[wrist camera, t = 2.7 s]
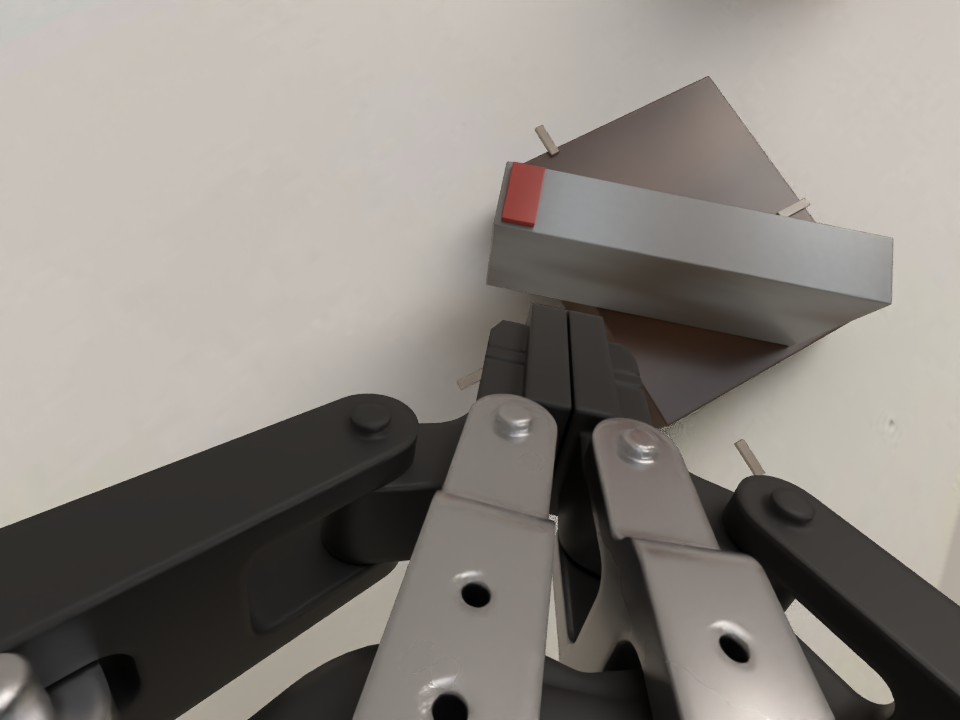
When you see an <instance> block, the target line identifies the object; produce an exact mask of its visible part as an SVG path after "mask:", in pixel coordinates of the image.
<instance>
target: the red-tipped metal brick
mask: <svg viewBox="0 0 960 720" xmlns="http://www.w3.org/2000/svg"><path fill="white" fill-rule="evenodd" d="M892 268H893V238H891V237H886V236H881V235H876V234H871V233H866V232H861V231H856V230H851V229H846V228H841V227H836V226H831V225H826V224H820V223H815V222H810V221H805V220H800V219H795V218H790V217H785V216H780V215H775V214H770V213H765V212H760V211H755V210H750V209H745V208H740V207H735V206H730V205H725V204H720V203H715V202H710V201H705V200H700V199H695V198H690V197H685V196H680V195H675V194H670V193H665V192H660V191H655V190H650V189H645V188H640V187H635V186H630V185H625V184H620V183H615V182H610V181H604V180H599V179H594V178H589V177H584V176H579V175H574V174H569V173H564V172H559V171H554V170H549V169H545V168H543V167H538V166H533V165H528V164H523V163H518V162H509V161H508V162H507V163H506V168H505V173H504V177H503V182H502V187H501V191H500V196H499V201H498V205H497V210H496V215H495V219H494V224H493V232H492V241H491V249H490V257H489V265H488V273H487V281H486V284H487V285H491V286H496V287H501V288H506V289H510V290H515V291H520V292H525V293H530V294H535V295H540V296H545V297H550V298H555V299H560V300H565V301H570V302H575V303H580V304H585V305H590V306H595V307H599V308H604V309H609V310H614V311H619V312H624V313H629V314H634V315H639V316H644V317H649V318H654V319H659V320H664V321H669V322H674V323H679V324H684V325H689V326H693V327H698V328H703V329H708V330H713V331H718V332H723V333H728V334H733V335H738V336H743V337H748V338H753V339H758V340H763V341H768V342H773V343H778V344H783V345H787V346H792V345H795V344H797V343H800V342H802V341H804V340H807V339H809V338H812V337H814V336H816V335H819V334H821V333H824V332H826V331H828V330H831V329H833V328H836V327H838V326H840V325H843V324H845V323H848V322H850V321H852V320H855V319H857V318H860V317H862V316H865V315H867V314H869V313H872V312H874V311H877V310H879V309H881V308H884V307H886V306H889V305H891V303H892Z"/></svg>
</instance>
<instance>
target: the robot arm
mask: <svg viewBox="0 0 960 720" xmlns="http://www.w3.org/2000/svg"><path fill="white" fill-rule="evenodd" d="M639 376H640V372H639V369H638V365H637V361H636V359H635V358H634V356H633V355H632V354H631V353H630V352H629V351H628V350H627V349H626V347H625V346H624V345H623V344H619V343H614V342H609V341H607V336H606V331H605V325H604V320H603V317H601V316H596V315H591V314H586V313H581V312H576V311H571V310H568V311H567V312H566V309H561V308H556V307H551V306H546V305H541V304H536V303H531V306H530V309H529V313H528V317H527V321H526V325H525V324H520V323H515V322H511V321H506V320H502V321H501V322H500V323H499V324H497V325H496V326H495V327H494V328H492V329H491V331H490V336H489V341H488V346H487V351H486V355H485V360H484V365H483V370H482V375H481V380H480V385H479V389H478V394H477V399H476V402H475V403H474V404H473V405H472V407H471V409H470V411H469V412H468V413H467V414H465V415H464V416H462V417H460V418H458V419H455V420H452V421H448V422H443V423H421V424H418V419H417V417H416V415H415V414H414V412H413V411H412V410H411V409H410V408H409V407H408V406H407V405H405V404H404V403H403V402H401V401H399V400H397V399H394V398H391V397H388V396H384V395H379V394H357V395H351V396H348V397H344V398H341V399H339V400H336V401H334V402H331V403H328V404H326V405H323V406H320V407H318V408H315V409H313V410H310V411H307V412H305V413H302V414H299V415H297V416H294V417H292V418H289V419H286V420H284V421H281V422H278V423H276V424H273V425H271V426H268V427H265V428H263V429H260V430H257V431H255V432H252V433H250V434H247V435H244V436H242V437H239V438H236V439H234V440H231V441H229V442H226V443H223V444H221V445H218V446H215V447H213V448H210V449H208V450H205V451H202V452H200V453H197V454H195V455H192V456H189V457H187V458H184V459H181V460H179V461H176V462H174V463H171V464H168V465H166V466H163V467H160V468H158V469H155V470H153V471H150V472H147V473H145V474H142V475H139V476H137V477H134V478H132V479H129V480H126V481H124V482H121V483H118V484H116V485H113V486H111V487H108V488H105V489H103V490H100V491H97V492H95V493H92V494H90V495H87V496H84V497H82V498H79V499H76V500H74V501H71V502H69V503H66V504H63V505H61V506H58V507H55V508H53V509H50V510H48V511H45V512H42V513H40V514H37V515H34V516H32V517H29V518H27V519H24V520H21V521H19V522H16V523H13V524H11V525H8V526H6V527H3V528H0V720H175V719H176V718H178V717H179V716H181V715H182V714H184V713H185V712H187V711H188V710H190V709H191V708H193V707H194V706H195V705H197V704H198V703H200V702H201V701H203V700H204V699H206V698H207V697H209V696H210V695H212V694H213V693H215V692H216V691H218V690H219V689H221V688H222V687H223V686H225V685H226V684H228V683H229V682H231V681H232V680H234V679H235V678H237V677H238V676H240V675H241V674H243V673H244V672H246V671H247V670H248V669H250V668H251V667H253V666H254V665H256V664H257V663H259V662H260V661H262V660H263V659H265V658H266V657H268V656H269V655H271V654H272V653H274V652H275V651H276V650H278V649H279V648H281V647H282V646H284V645H285V644H287V643H288V642H290V641H291V640H293V639H294V638H296V637H297V636H299V635H300V634H301V633H303V632H304V631H306V630H307V629H309V628H310V627H312V626H313V625H315V624H316V623H318V622H319V621H321V620H322V619H324V618H325V617H327V616H328V615H329V614H331V613H332V612H334V611H335V610H337V609H338V608H340V607H341V606H343V605H344V604H346V603H347V602H349V601H350V600H352V599H353V598H354V597H356V596H357V595H359V594H360V593H362V592H363V591H365V590H366V589H368V588H369V587H371V586H372V585H374V584H375V583H377V582H378V581H380V580H381V579H382V578H384V577H385V576H387V575H388V574H389V573H390V572H391V571H392V570H393V569H394V568H395V567H396V565H397V564H398V562H399V561H406V560H410V562H409V565H408V567H407V570H406V573H405V576H404V578H403V581H402V584H401V587H400V589H399V592H398V595H397V598H396V600H395V603H394V606H393V609H392V611H391V614H390V617H389V620H388V622H387V625H386V628H385V631H384V633H383V636H382V639H381V642H380V644H376V645H371V646H367V647H363V648H360V649H357V650H354V651H351V652H348V653H345V654H343V655H341V656H339V657H337V658H335V659H332V660H330V661H328V662H326V663H324V664H323V665H321V666H319V667H318V668H316V669H314V670H313V671H311V672H309V673H308V674H306V675H305V676H303V677H302V678H300V679H299V680H298V681H296V682H295V683H294V684H292V685H291V686H290V687H289V688H287V689H286V690H285V691H283V692H282V693H281V694H280V695H278V696H277V697H276V698H275V699H273V700H272V701H271V702H269V703H268V704H267V705H266V706H264V707H263V708H262V709H261V710H259V711H258V712H257V713H256V714H254V715H253V716H252V717H250V718H249V719H248V720H960V606H959V605H957V604H956V603H955V602H953V601H952V600H951V599H949V598H948V597H947V596H945V595H944V594H943V593H941V592H940V591H939V590H937V589H936V588H935V587H933V586H932V585H931V584H929V583H928V582H927V581H925V580H924V579H923V578H921V577H920V576H919V575H917V574H916V573H915V572H913V571H912V570H911V569H909V568H908V567H907V566H905V565H904V564H903V563H901V562H900V561H899V560H897V559H896V558H895V557H893V556H892V555H891V554H889V553H888V552H887V551H885V550H884V549H883V548H881V547H880V546H879V545H877V544H876V543H875V542H873V541H872V540H871V539H869V538H868V537H867V536H865V535H864V534H863V533H861V532H860V531H859V530H857V529H856V528H855V527H853V526H852V525H851V524H849V523H848V522H847V521H845V520H844V519H843V518H841V517H840V516H839V515H837V514H836V513H835V512H833V511H832V510H831V509H829V508H828V507H827V506H825V505H824V504H823V503H821V502H820V501H819V500H817V499H816V498H815V497H813V496H812V495H811V494H809V493H808V492H806V491H805V490H803V489H801V488H799V487H798V486H796V485H794V484H792V483H790V482H787V481H784V480H782V479H779V478H775V477H771V476H765V475H754V476H749V477H746V478H745V479H743V480H742V481H741V482H740V483H739V485H738V487H737V488H736V490H735V492H732V491H730V490H728V489H725V488H723V487H721V486H718V485H716V484H714V483H711V482H709V481H707V480H704V479H702V478H700V477H698V476H696V475H694V474H692V473H690V472H688V470H687V467H686V465H685V463H684V460H683V458H682V455H681V453H680V451H679V449H678V447H677V446H676V445H675V443H674V442H673V441H672V440H671V439H670V438H669V437H668V436H666V435H665V434H664V433H662V432H661V431H659V430H658V429H656V428H654V426H653V422H652V418H651V414H650V411H649V407H648V403H647V399H646V395H645V392H644V390H643V384H642V380H641V377H639ZM549 514H551V515H556V516H558V530H557V532H556V535H555V522H554V521H552V520H549V519H548V517H549ZM552 577H553V589H554V600H555V612H556V624H557V635H558V647H559V662H558V661H556V660H554V659H552V658H550V657H548V656H546V655H545V649H546V637H547V626H548V614H549V603H550V591H551V580H552ZM795 598H796V599H797V600H798V601H799V602H800V603H801V604H802V605H803V606H804V607H805V608H807V609H808V610H809V611H810V612H811V613H812V614H813V615H814V616H815V617H816V618H818V619H819V620H820V621H821V622H822V623H823V624H824V625H825V626H826V627H827V628H829V629H830V630H831V631H832V632H833V633H834V634H835V635H836V636H837V637H838V638H840V639H841V640H842V641H843V642H844V643H845V644H846V645H847V646H848V647H849V648H850V649H852V650H853V651H854V652H855V653H856V654H857V655H858V656H859V657H860V658H861V659H863V660H864V661H865V662H866V663H867V664H868V665H869V666H870V667H871V668H872V669H874V670H875V671H876V672H877V673H878V674H879V675H880V676H881V677H882V679H883V680H884V681H885V682H886V684H887V685H888V687H889V688H890V690H891V692H892V695H893V698H894V702H892V703H891V704H887V705H881V704H876V703H873V702H870V701H868V700H866V699H865V698H863V697H861V696H860V695H859V694H857V693H856V692H855V691H854V690H853V689H852V688H851V687H850V686H849V685H848V684H847V683H846V682H845V681H844V680H842V679H841V678H840V677H839V676H838V675H837V674H836V673H835V672H834V671H833V670H832V669H831V668H830V667H829V666H828V665H827V664H826V663H825V662H824V661H823V660H822V659H821V658H820V657H819V656H817V655H816V654H815V653H814V652H813V651H812V650H811V649H810V648H809V647H808V646H807V645H806V644H805V643H804V642H803V641H802V640H801V639H800V638H799V637H798V636H797V635H796V634H795V633H794V632H793V629H792V627H791V625H790V623H789V621H788V619H787V617H786V615H785V613H784V612H785V611H786V610H787V608H788V607H789V606H790V605H791V603H792V602H793V601H794V600H795Z"/></svg>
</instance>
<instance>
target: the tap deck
mask: <svg viewBox="0 0 960 720" xmlns="http://www.w3.org/2000/svg"><path fill="white" fill-rule="evenodd" d="M535 132H536V133H537V135H538V136H539V138H540V139H541V141H542V143H543V144H544V146H545V147H546V149H547V150H548V152H547V153H544V154H542V155H540V156H538V157H536V158H534V159H532V160H530V161H528V162H525V163H523V164H528V165H533V166H538V167H543V168H545V169H549V170H554V171H559V172H564V173H569V174H574V175H579V176H584V177H589V178H594V179H599V180H604V181H610V182H615V183H620V184H625V185H630V186H635V187H640V188H645V189H650V190H655V191H660V192H665V193H670V194H675V195H680V196H685V197H690V198H695V199H700V200H705V201H710V202H715V203H720V204H725V205H730V206H735V207H740V208H745V209H750V210H755V211H760V212H765V213H770V214H775V215H780V216H785V217H790V218H795V219H800V220H805V221H810V222H815V221H814V220H813V218H812V217H811V215H810V214H809V213H808V211H807V210H806V209H805V208H806V207H808V206H809V205H810V204H809V203H808V201H807V200H806V199H805V198H804V199H802V200H799V199H798V198H797V196H796V195H795V193H794V192H793V191H792V189H791V188H790V187H789V185H788V184H787V183H786V181H785V180H784V178H783V177H782V176H781V174H780V173H779V172H778V170H777V169H776V167H775V166H774V165H773V163H772V162H771V161H770V159H769V158H768V156H767V155H766V154H765V152H764V151H763V150H762V148H761V147H760V145H759V144H758V143H757V141H756V140H755V139H754V137H753V136H752V134H751V133H750V132H749V130H748V129H747V128H746V126H745V125H744V123H743V122H742V121H741V119H740V118H739V117H738V115H737V114H736V112H735V111H734V110H733V108H732V107H731V106H730V104H729V103H728V101H727V100H726V99H725V97H724V96H723V95H722V93H721V92H720V90H719V89H718V88H717V86H716V85H715V84H714V82H713V81H712V79H711V78H710V77H709V76H707V77H705V78H703V79H701V80H699V81H696V82H694V83H692V84H690V85H688V86H686V87H684V88H682V89H680V90H677V91H675V92H673V93H671V94H669V95H667V96H665V97H663V98H661V99H658V100H656V101H654V102H652V103H650V104H648V105H646V106H644V107H642V108H639V109H637V110H635V111H633V112H631V113H629V114H627V115H625V116H623V117H620V118H618V119H616V120H614V121H612V122H610V123H608V124H606V125H604V126H601V127H599V128H597V129H595V130H593V131H591V132H589V133H587V134H585V135H582V136H580V137H578V138H576V139H574V140H572V141H570V142H568V143H566V144H563V145H561V146H559V147H556V145H555V144H554V142H553V140H552V139H551V137H550V136H549V134H548V133H547V131H546V130H545V128H544V126H543V125H541V126H539V127H537V128H535ZM815 223H816V222H815ZM562 302H563V304H564V305H565V307H566V309H567V310H571V311H576V312H581V313H586V314H591V315H596V316H601V317H603V320H604V325H605V331H606V336H607V341H609V342H614V343H619V344H623V345H624V346H625V347H626V349H627V350H628V351H629V352H630V353H631V354H632V355H633V356H634V358H635V359H636V361H637V365H638V369H639V372H640V376H639V377H641V380H642V384H643V390H644V392H645V395H646V399H647V403H648V407H649V411H650V414H651V418H652V422H653V426H654V428H656V429H659V428H663V427H667V426H669V425H671V424H673V423H675V422H676V421H678V420H680V419H682V418H683V417H685V416H687V415H689V414H690V413H692V412H694V411H696V410H697V409H699V408H701V407H702V406H704V405H706V404H708V403H709V402H711V401H713V400H715V399H716V398H718V397H720V396H722V395H723V394H725V393H727V392H729V391H730V390H732V389H734V388H736V387H737V386H739V385H741V384H743V383H744V382H746V381H748V380H749V379H751V378H753V377H755V376H756V375H758V374H760V373H762V372H763V371H765V370H767V369H769V368H770V367H772V366H774V365H776V364H777V363H779V362H781V361H783V360H784V359H786V358H788V357H790V356H791V355H793V354H795V353H796V352H798V351H800V350H802V349H803V348H805V347H807V346H809V345H810V344H812V343H814V342H816V341H817V340H819V339H821V338H823V337H824V336H826V335H828V334H830V333H831V332H833V331H835V330H837V329H838V328H840V327H842V326H843V325H845V324H847V323H845V324H843V325H840V326H838V327H836V328H833V329H831V330H828V331H826V332H824V333H821V334H819V335H816V336H814V337H812V338H809V339H807V340H804V341H802V342H800V343H797V344H795V345H792V346H787V345H783V344H778V343H773V342H768V341H763V340H758V339H753V338H748V337H743V336H738V335H733V334H728V333H723V332H718V331H713V330H708V329H703V328H698V327H693V326H689V325H684V324H679V323H674V322H669V321H664V320H659V319H654V318H649V317H644V316H639V315H634V314H629V313H624V312H619V311H614V310H609V309H604V308H599V307H595V306H590V305H585V304H580V303H575V302H570V301H565V300H562ZM848 323H849V322H848ZM482 370H483V368H481V369H479V370H477V371H475V372H474V373H472V374H470V375H468V376H466V377H464V378H462V379H460V380H458V381H457V384H458V385H459V387H460V389H461V390H463V389H465V388H467V387H469V386H471V385H472V384H474V383H476V382H478V381H480V380H481V375H482ZM734 445H735V446H736V448H737V449H738V451H739V452H740V454H741V456H742V457H743V459H744V460H745V462H746V463H747V465H748V467H749V468H750V470H751V471H752V473H753V474H754V475H763V474H764V473H765V471H764V470H763V468H762V467H761V465H760V464H759V462H758V460H757V459H756V457H755V456H754V454H753V453H752V451H751V450H750V448H749V446H748V445H747V443H746V442H745V440H744V439H741V440H739V441H738V442H736V443H734Z"/></svg>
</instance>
